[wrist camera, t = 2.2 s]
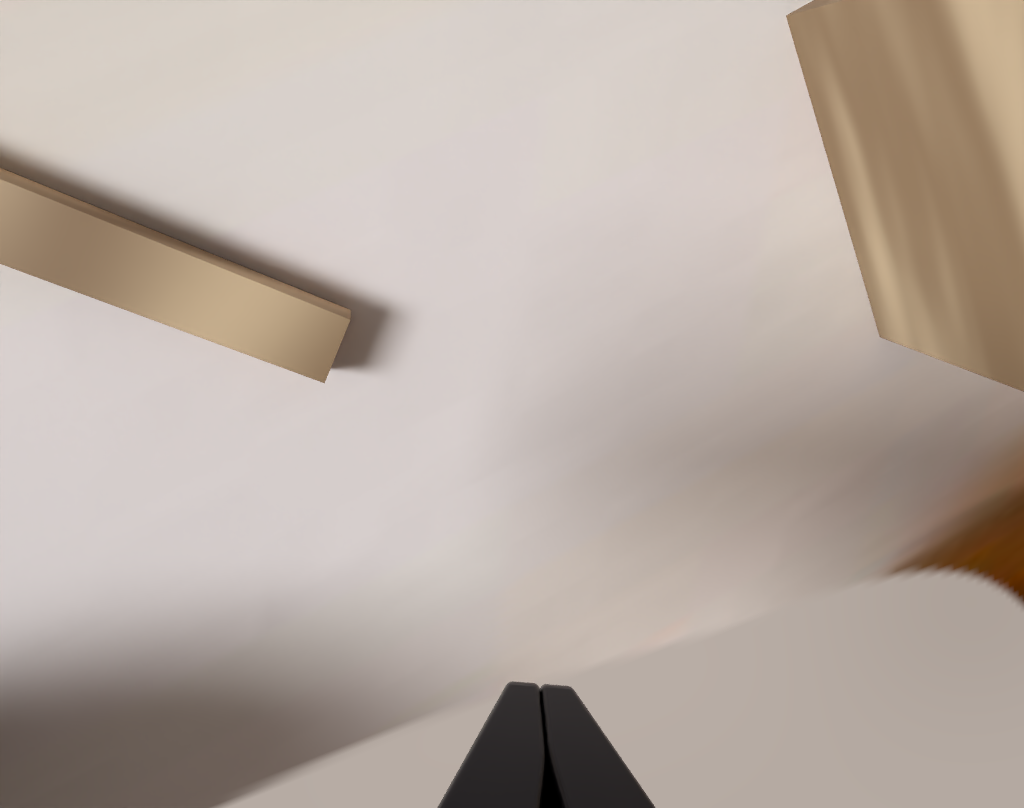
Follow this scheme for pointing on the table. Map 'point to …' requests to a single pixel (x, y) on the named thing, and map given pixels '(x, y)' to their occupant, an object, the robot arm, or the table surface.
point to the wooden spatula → (165, 279)
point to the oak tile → (928, 166)
